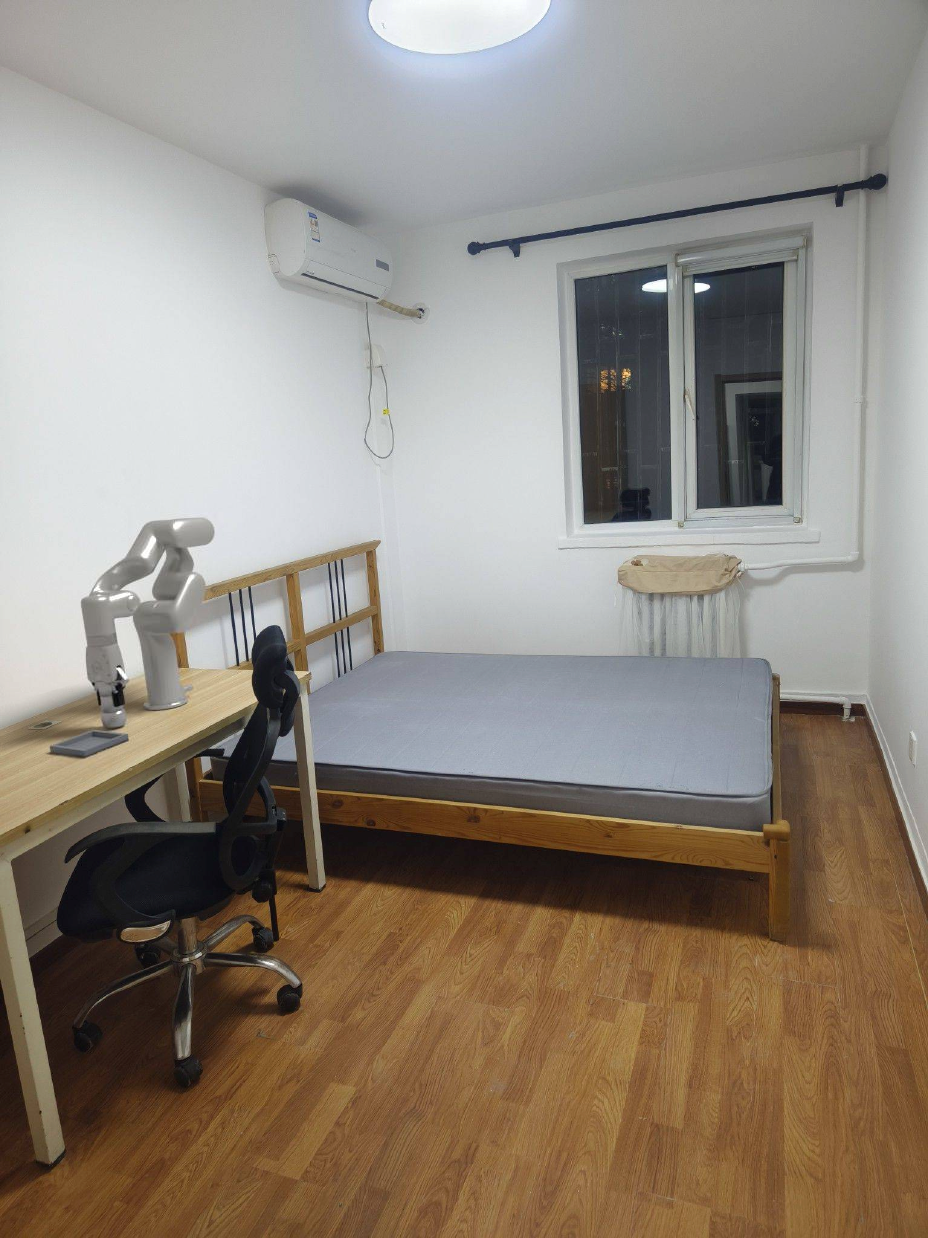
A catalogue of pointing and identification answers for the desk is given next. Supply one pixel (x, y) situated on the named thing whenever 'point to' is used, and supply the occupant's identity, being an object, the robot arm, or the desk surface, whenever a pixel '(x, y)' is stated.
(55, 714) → the desk surface
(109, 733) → the charcoal tray
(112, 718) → the plastic bottle
